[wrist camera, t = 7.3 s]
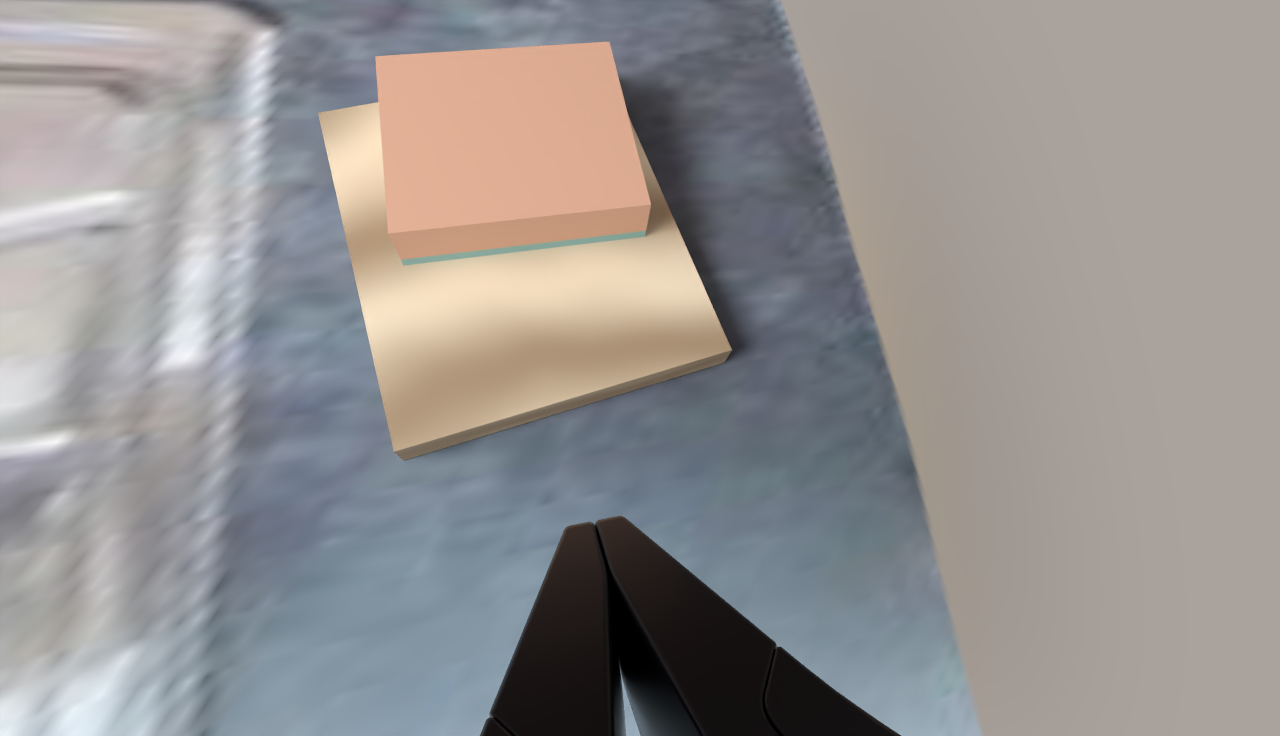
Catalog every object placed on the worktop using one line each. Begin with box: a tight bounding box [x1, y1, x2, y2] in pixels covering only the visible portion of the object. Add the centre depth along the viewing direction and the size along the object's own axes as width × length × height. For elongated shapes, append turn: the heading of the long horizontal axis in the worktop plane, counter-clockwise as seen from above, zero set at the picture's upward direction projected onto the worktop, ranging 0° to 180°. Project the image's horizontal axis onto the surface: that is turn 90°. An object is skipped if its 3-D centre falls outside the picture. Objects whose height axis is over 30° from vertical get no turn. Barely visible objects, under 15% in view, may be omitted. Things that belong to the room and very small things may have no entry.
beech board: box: [318, 102, 732, 460], centre depth 24 cm, size 14×12×1 cm
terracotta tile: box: [375, 42, 651, 266], centre depth 23 cm, size 2×9×8 cm
